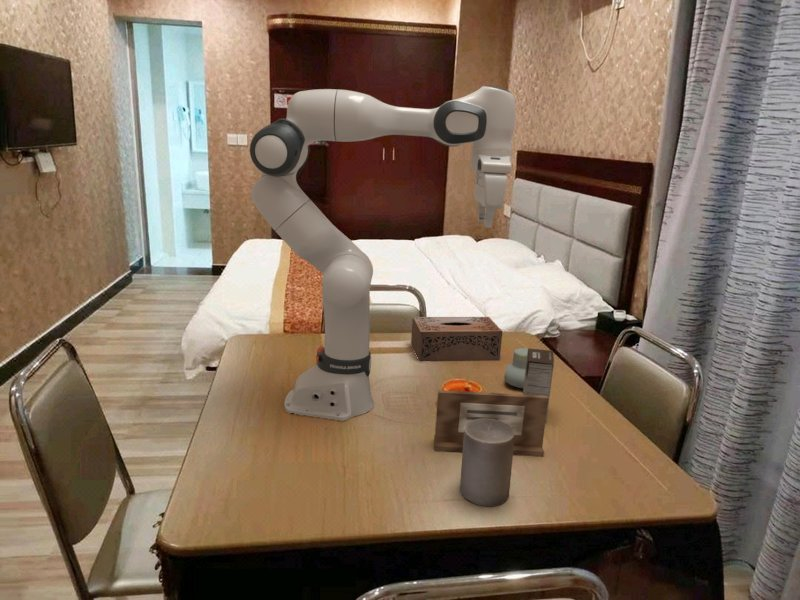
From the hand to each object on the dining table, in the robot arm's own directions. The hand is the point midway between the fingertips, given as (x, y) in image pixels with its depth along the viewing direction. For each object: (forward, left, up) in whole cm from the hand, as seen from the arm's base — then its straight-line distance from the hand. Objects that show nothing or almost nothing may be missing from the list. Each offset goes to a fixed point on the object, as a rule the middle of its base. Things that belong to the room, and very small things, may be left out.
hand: (484, 224), depth 134 cm
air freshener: (+17, +19, -48) cm, 54 cm away
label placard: (+3, -17, -48) cm, 51 cm away
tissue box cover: (-1, +41, -48) cm, 63 cm away
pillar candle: (0, -34, -48) cm, 59 cm away
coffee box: (+17, +1, -48) cm, 51 cm away
